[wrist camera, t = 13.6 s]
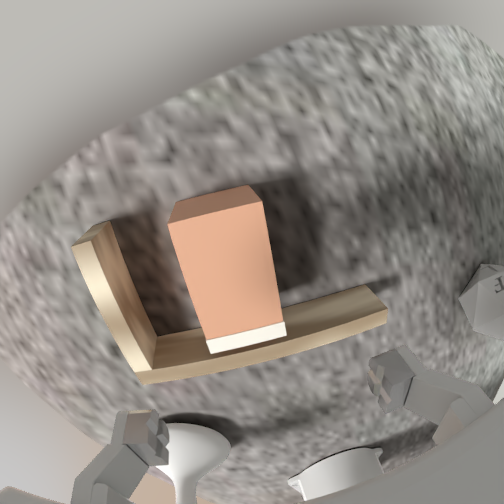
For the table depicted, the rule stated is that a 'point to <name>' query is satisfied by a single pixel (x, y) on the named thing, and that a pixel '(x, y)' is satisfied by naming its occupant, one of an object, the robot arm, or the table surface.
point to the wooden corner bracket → (194, 341)
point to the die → (485, 301)
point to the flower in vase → (192, 457)
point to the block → (228, 267)
